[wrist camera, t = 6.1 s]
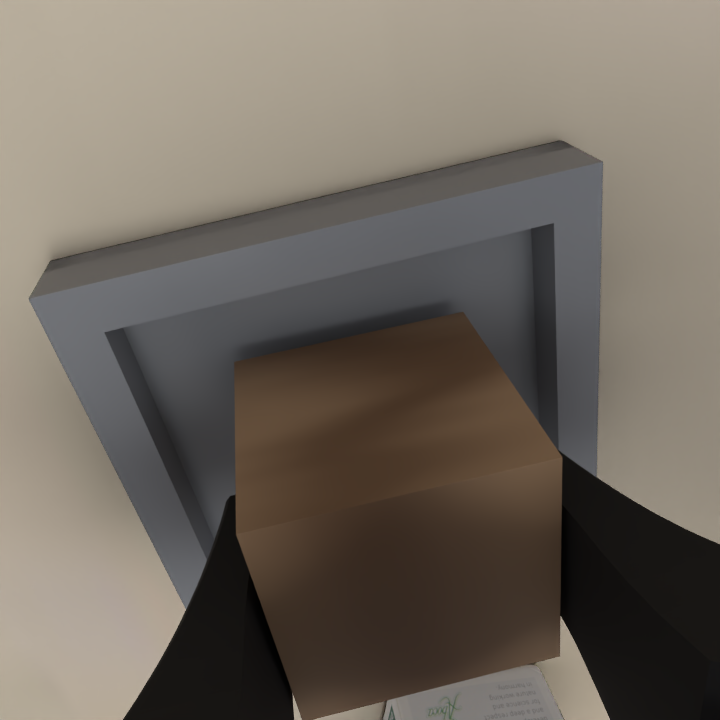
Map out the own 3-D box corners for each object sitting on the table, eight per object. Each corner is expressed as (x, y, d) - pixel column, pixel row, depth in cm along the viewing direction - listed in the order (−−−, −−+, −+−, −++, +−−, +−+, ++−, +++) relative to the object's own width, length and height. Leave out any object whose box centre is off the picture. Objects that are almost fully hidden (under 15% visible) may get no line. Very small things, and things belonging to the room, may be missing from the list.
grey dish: (561, 140, 14) (602, 161, 13) (566, 505, 20) (595, 549, 18) (50, 261, 13) (28, 298, 12) (210, 601, 19) (209, 655, 18)
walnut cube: (462, 311, 14) (562, 457, 10) (476, 483, 17) (559, 655, 13) (234, 361, 14) (235, 533, 10) (284, 528, 17) (303, 721, 12)
